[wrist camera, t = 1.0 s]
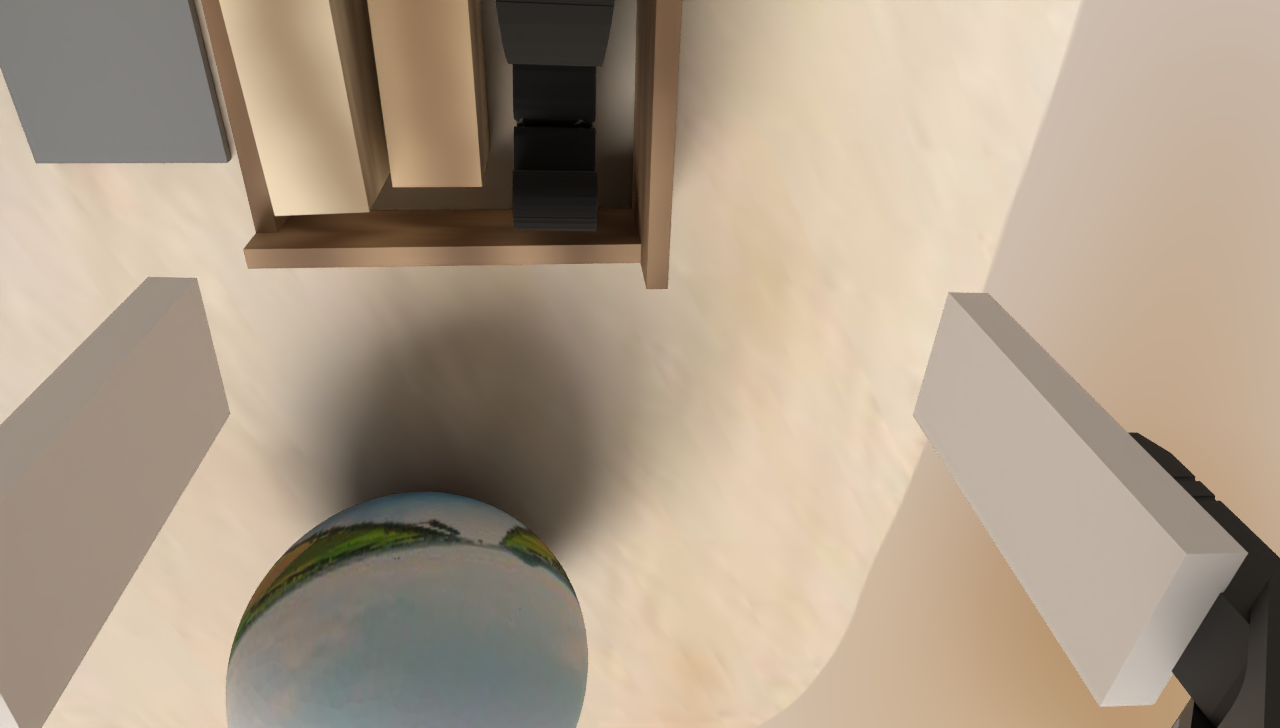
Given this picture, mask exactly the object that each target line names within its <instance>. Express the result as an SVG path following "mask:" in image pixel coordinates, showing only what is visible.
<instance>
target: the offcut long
mask: <svg viewBox="0 0 1280 728" xmlns="http://www.w3.org/2000/svg"><path fill="white" fill-rule="evenodd" d="M219 2H220V6H221V10H222V14H223V18H224V22H225V26H226V30H227V33H228V37H229V41H230V45H231V49H232V53H233V57H234V60H235V64H236V68H237V72H238V76H239V80H240V84H241V88H242V91H243V95H244V99H245V103H246V107H247V111H248V115H249V118H250V122H251V126H252V130H253V134H254V138H255V142H256V146H257V149H258V153H259V157H260V161H261V165H262V169H263V173H264V176H265V180H266V184H267V188H268V192H269V196H270V200H271V204H272V207H273V211H274V215H275V216H288V215H313V214H338V213H362V212H370V210H371V208H372V206H373V204H374V203H375V201H376V199H377V197H378V195H379V193H380V191H381V189H382V187H383V185H384V183H385V181H386V179H387V178H388V176H389V174H390V164H389V157H388V150H387V142H386V135H385V128H384V120H383V113H382V106H381V98H380V91H379V84H378V76H377V69H376V62H375V54H374V47H373V40H372V32H371V25H370V18H369V10H368V3H367V0H219Z"/></svg>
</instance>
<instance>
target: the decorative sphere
mask: <svg viewBox="0 0 1280 728" xmlns="http://www.w3.org/2000/svg"><path fill="white" fill-rule="evenodd" d="M587 671H588V648H587V637H586V630H585V625H584V620H583V615H582V612H581V608H580V605H579V602H578V599H577V597H576V594H575V591H574V589H573V587H572V585H571V583H570V581H569V579H568V577H567V575H566V573H565V571H564V569H563V568H562V566H561V565H560V563H559V562H558V560H557V559H556V557H555V556H554V555H553V554H552V552H551V551H550V550H549V548H548V547H547V546H546V545H545V544H544V543H543V542H542V541H541V540H540V539H539V538H538V537H537V536H536V535H535V534H534V533H533V532H532V531H531V530H530V529H528V528H527V527H526V526H525V525H523V524H522V523H521V522H519V521H518V520H517V519H515V518H514V517H512V516H510V515H509V514H507V513H505V512H503V511H502V510H500V509H498V508H496V507H494V506H491V505H489V504H486V503H484V502H481V501H478V500H475V499H472V498H469V497H465V496H461V495H456V494H450V493H441V492H406V493H399V494H392V495H387V496H383V497H379V498H375V499H372V500H369V501H365V502H363V503H360V504H357V505H355V506H352V507H350V508H348V509H346V510H343V511H341V512H339V513H338V514H336V515H334V516H332V517H330V518H329V519H327V520H325V521H324V522H322V523H321V524H319V525H318V526H316V527H315V528H313V529H312V530H311V531H309V532H308V533H307V534H305V535H304V536H303V537H302V538H300V539H299V540H298V541H297V542H296V543H295V544H294V545H292V546H291V547H290V548H289V549H288V550H287V551H286V552H285V553H284V555H283V556H282V557H281V558H280V559H279V560H278V561H277V562H276V563H275V565H274V566H273V567H272V568H271V570H270V571H269V572H268V574H267V575H266V576H265V578H264V579H263V581H262V582H261V583H260V585H259V586H258V588H257V590H256V591H255V593H254V595H253V596H252V598H251V600H250V602H249V604H248V606H247V608H246V610H245V612H244V614H243V616H242V619H241V622H240V624H239V627H238V630H237V633H236V635H235V638H234V642H233V645H232V649H231V654H230V659H229V663H228V670H227V678H226V713H227V721H228V728H576V726H577V723H578V720H579V716H580V713H581V709H582V705H583V701H584V696H585V691H586V682H587Z"/></svg>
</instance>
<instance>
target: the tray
mask: <svg viewBox="0 0 1280 728" xmlns="http://www.w3.org/2000/svg"><path fill="white" fill-rule="evenodd" d="M201 2H202V6H203V10H204V14H205V19H206V23H207V27H208V31H209V36H210V40H211V44H212V48H213V53H214V57H215V61H216V65H217V69H218V74H219V78H220V82H221V86H222V91H223V95H224V99H225V103H226V108H227V112H228V116H229V120H230V124H231V129H232V133H233V137H234V141H235V146H236V150H237V154H238V158H239V163H240V167H241V171H242V175H243V179H244V184H245V188H246V192H247V196H248V201H249V205H250V209H251V213H252V218H253V222H254V226H255V230H256V234H255V235H254V237H253V238H252V239H251V240H250V242H249V243H248V244H247V245H246V247H245V248H244V249H243V250H244V254H245V258H246V262H247V266H248V269H254V268H321V267H388V266H455V265H522V264H589V263H641V267H642V271H643V276H644V280H645V284H646V289H668V270H669V250H670V230H671V210H672V190H673V171H674V151H675V131H676V111H677V91H678V71H679V51H680V31H681V11H682V0H637V27H636V70H635V112H634V155H633V198H632V208H601V209H597V228H596V231H550V230H514V224H513V209H482V210H370V212H362V213H338V214H313V215H288V216H275V215H274V211H273V207H272V204H271V200H270V196H269V192H268V188H267V184H266V180H265V176H264V173H263V169H262V165H261V161H260V157H259V153H258V149H257V146H256V142H255V138H254V134H253V130H252V126H251V122H250V118H249V115H248V111H247V107H246V103H245V99H244V95H243V91H242V88H241V84H240V80H239V76H238V72H237V68H236V64H235V60H234V57H233V53H232V49H231V45H230V41H229V37H228V33H227V30H226V26H225V22H224V18H223V14H222V10H221V6H220V2H219V0H201Z"/></svg>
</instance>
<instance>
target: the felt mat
mask: <svg viewBox="0 0 1280 728" xmlns="http://www.w3.org/2000/svg"><path fill="white" fill-rule="evenodd" d="M0 68H1V70H2V73H3V76H4V78H5V81H6V84H7V86H8V89H9V92H10V95H11V97H12V100H13V103H14V105H15V108H16V111H17V113H18V116H19V119H20V121H21V124H22V127H23V130H24V132H25V135H26V138H27V140H28V143H29V146H30V148H31V151H32V154H33V157H34V159H35V162H36V163H228V162H229V161H230V160H231V155H230V151H229V147H228V143H227V139H226V135H225V130H224V126H223V122H222V118H221V114H220V110H219V105H218V101H217V97H216V93H215V89H214V85H213V81H212V76H211V72H210V68H209V64H208V60H207V56H206V52H205V47H204V43H203V39H202V35H201V31H200V27H199V23H198V18H197V14H196V10H195V6H194V2H193V0H0Z"/></svg>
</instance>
